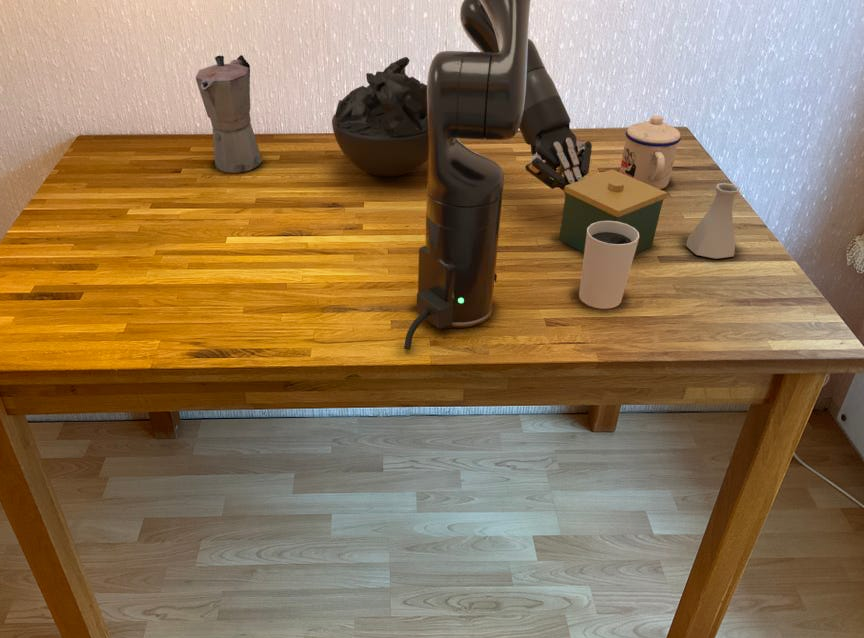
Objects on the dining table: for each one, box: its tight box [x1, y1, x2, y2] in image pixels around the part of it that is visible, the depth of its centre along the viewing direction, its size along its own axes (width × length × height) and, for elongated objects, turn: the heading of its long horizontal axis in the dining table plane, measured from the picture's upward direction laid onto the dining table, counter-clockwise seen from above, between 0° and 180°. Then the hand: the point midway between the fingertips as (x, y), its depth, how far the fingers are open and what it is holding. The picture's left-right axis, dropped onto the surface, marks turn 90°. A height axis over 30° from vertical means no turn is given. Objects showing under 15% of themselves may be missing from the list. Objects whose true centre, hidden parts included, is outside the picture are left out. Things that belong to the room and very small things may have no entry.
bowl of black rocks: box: [331, 56, 428, 178], centre depth 131 cm, size 20×20×19 cm
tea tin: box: [558, 168, 668, 255], centre depth 111 cm, size 10×10×10 cm
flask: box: [685, 182, 740, 260], centre depth 110 cm, size 7×7×10 cm
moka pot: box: [195, 54, 263, 174], centre depth 134 cm, size 10×15×20 cm, turn 163°
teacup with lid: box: [619, 114, 682, 190], centre depth 127 cm, size 12×9×12 cm
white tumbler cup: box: [578, 221, 639, 310], centre depth 99 cm, size 7×7×10 cm
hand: (581, 207), depth 116 cm, fingers closed
